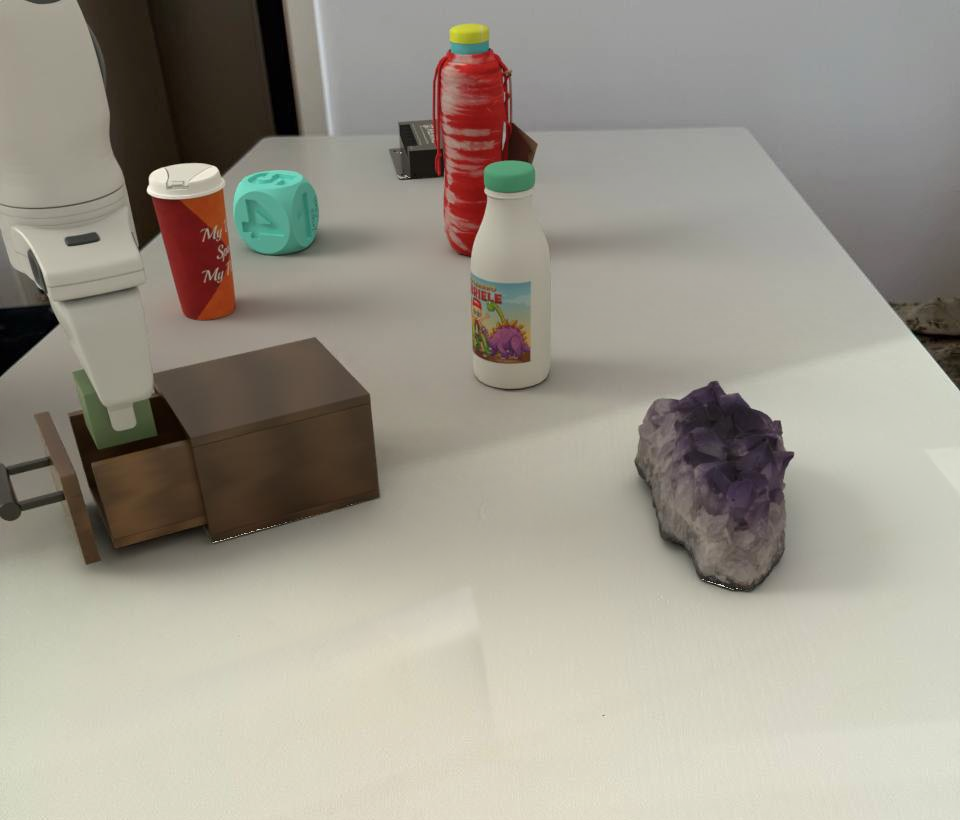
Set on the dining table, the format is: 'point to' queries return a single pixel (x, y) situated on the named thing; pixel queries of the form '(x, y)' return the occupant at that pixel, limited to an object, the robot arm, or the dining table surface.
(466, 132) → the water bottle
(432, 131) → the dark grey box
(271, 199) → the decorative dice
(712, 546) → the geode
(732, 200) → the dining table surface
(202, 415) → the cabinet
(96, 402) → the block
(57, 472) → the drawer
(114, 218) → the robot arm
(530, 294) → the milk bottle
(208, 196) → the coffee cup
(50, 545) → the dining table surface
